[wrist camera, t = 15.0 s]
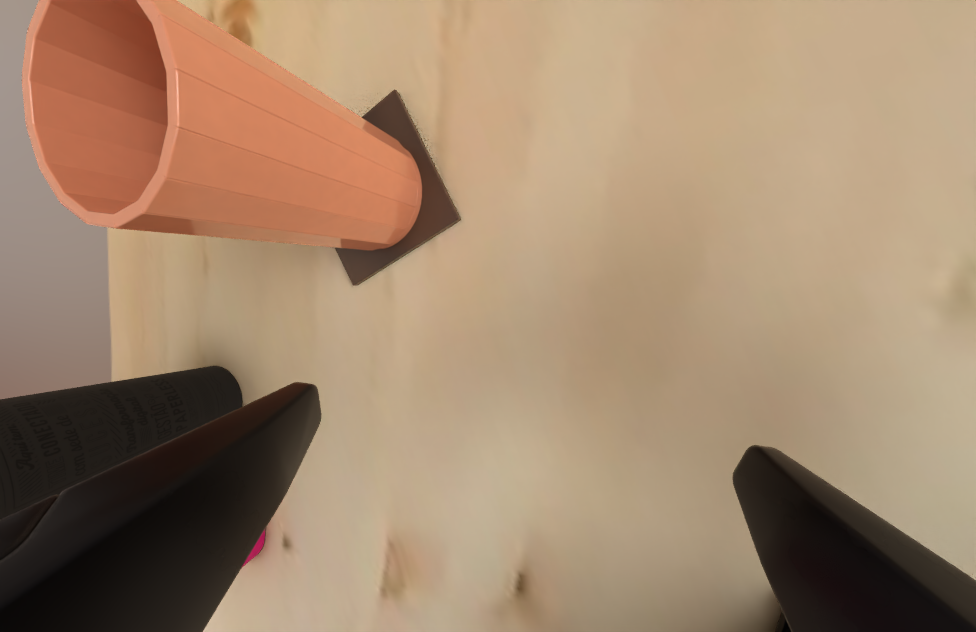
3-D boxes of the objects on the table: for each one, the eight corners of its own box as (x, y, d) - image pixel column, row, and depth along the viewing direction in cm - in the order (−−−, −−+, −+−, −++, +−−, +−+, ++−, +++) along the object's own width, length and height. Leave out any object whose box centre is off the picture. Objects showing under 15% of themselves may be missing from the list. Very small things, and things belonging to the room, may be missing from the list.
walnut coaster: (398, 92, 21) (394, 88, 20) (461, 219, 20) (458, 218, 20) (302, 172, 23) (297, 170, 23) (356, 285, 23) (352, 285, 23)
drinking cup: (261, 366, 27) (-563, 599, 8) (250, 454, 28) (-459, 822, 9) (191, 335, 29) (-600, 460, 10) (184, 418, 30) (-510, 663, 11)
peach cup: (427, 135, 20) (172, -61, 8) (417, 256, 21) (180, 237, 9) (330, 133, 22) (11, -26, 10) (325, 244, 23) (33, 217, 11)
